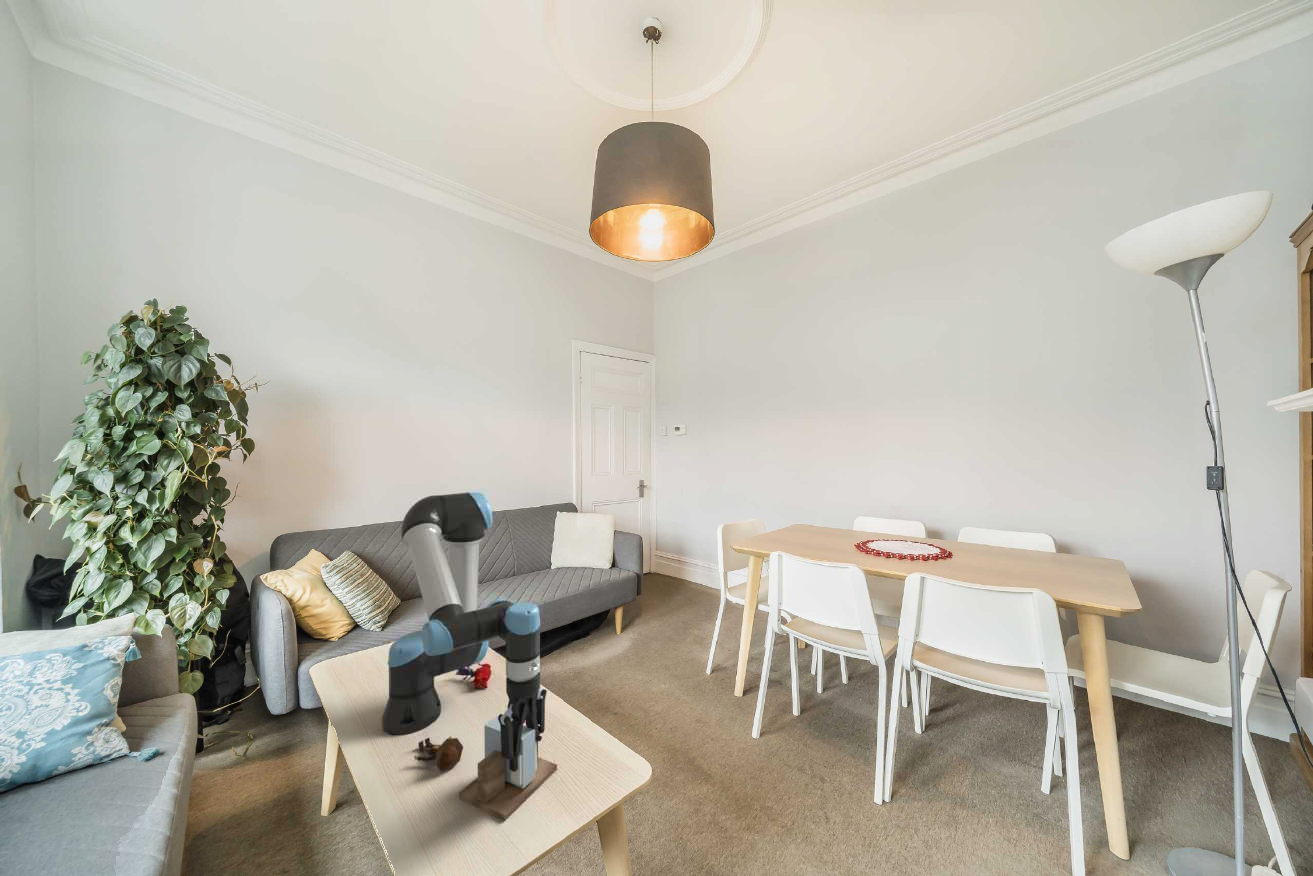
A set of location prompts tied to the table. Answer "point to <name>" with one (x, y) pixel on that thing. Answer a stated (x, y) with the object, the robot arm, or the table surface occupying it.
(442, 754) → the toy
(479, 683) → the figurine
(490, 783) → the walnut stand
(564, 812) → the table surface
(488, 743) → the grey-blue slab
